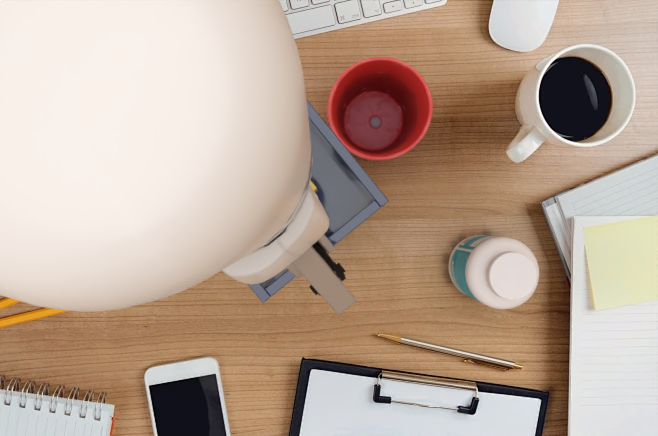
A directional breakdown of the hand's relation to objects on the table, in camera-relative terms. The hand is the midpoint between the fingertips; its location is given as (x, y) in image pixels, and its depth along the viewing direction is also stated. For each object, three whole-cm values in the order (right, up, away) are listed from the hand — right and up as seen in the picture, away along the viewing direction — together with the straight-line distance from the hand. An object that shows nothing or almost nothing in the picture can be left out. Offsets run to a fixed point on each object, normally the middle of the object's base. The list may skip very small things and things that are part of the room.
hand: (255, 181), depth 38 cm
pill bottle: (+22, -8, +34) cm, 42 cm away
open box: (0, 0, +14) cm, 14 cm away
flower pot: (+10, +9, +34) cm, 37 cm away
